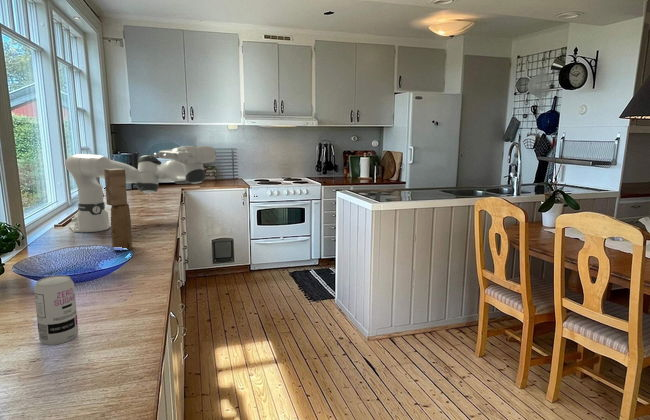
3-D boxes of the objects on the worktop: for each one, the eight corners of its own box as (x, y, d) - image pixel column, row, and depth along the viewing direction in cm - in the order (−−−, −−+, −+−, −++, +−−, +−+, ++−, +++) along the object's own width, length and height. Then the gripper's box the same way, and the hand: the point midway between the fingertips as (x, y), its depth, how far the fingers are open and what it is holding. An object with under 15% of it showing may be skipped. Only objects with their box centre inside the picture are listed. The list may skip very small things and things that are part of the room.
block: (130, 251, 181) (128, 205, 177) (111, 252, 179) (108, 206, 175) (133, 245, 191) (131, 201, 188) (115, 246, 189) (112, 202, 185)
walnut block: (106, 204, 180) (104, 169, 177) (120, 202, 184) (118, 168, 182) (112, 206, 176) (110, 170, 173) (127, 204, 181) (125, 169, 178)
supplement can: (50, 331, 108) (45, 274, 105) (84, 330, 108) (79, 274, 106) (31, 346, 100) (25, 286, 97) (68, 345, 101) (62, 285, 98)
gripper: (198, 162, 200) (171, 163, 190) (175, 160, 214) (149, 161, 203) (198, 149, 199) (170, 149, 189) (175, 147, 212) (148, 148, 202)
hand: (159, 155), depth 196 cm, fingers open, 8 cm apart
